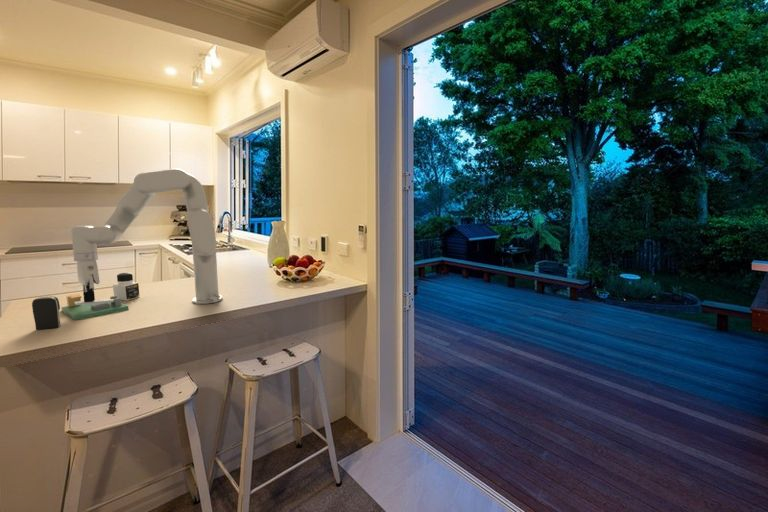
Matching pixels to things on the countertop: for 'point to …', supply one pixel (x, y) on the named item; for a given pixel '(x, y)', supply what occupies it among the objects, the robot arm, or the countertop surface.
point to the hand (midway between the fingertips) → (89, 300)
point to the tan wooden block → (73, 299)
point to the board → (94, 309)
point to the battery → (46, 312)
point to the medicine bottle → (126, 287)
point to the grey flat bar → (95, 301)
